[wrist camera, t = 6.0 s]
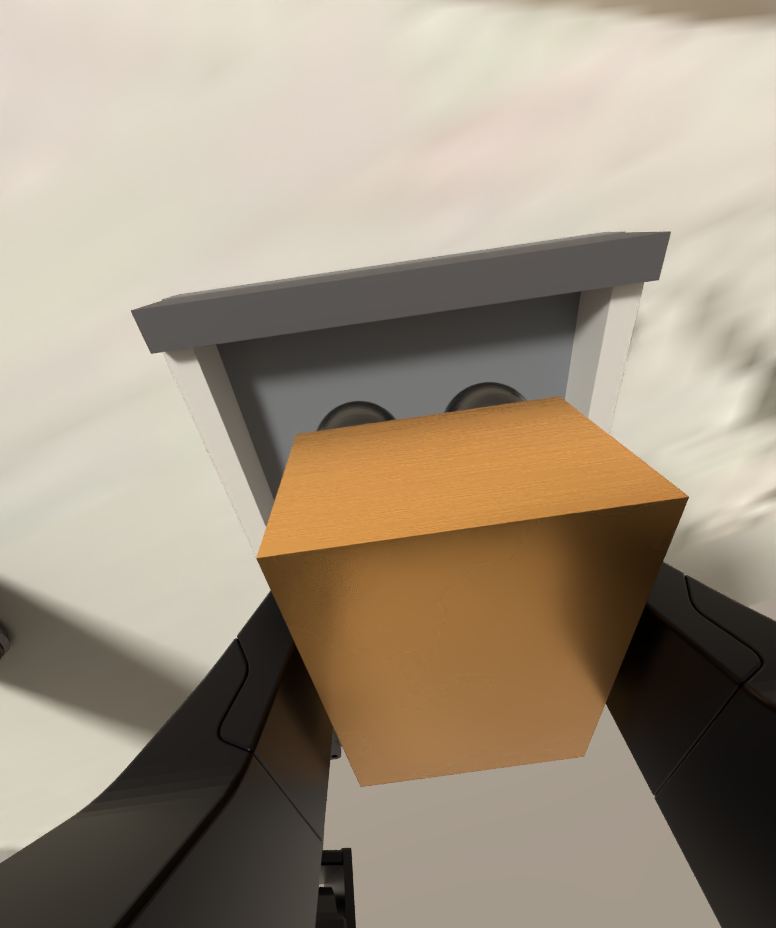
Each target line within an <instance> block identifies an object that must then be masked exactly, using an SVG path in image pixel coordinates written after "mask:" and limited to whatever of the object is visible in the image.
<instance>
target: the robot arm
mask: <svg viewBox="0 0 776 928" xmlns="http://www.w3.org/2000/svg"><path fill="white" fill-rule="evenodd" d="M237 638H238V639H237ZM237 638H235V639H234V640H233V642H232V643H231V644H230V646H229V647H228V648H227V650H226V651H225V652H224V654H223V655H222V656H221V658H220V659H219V660H218V661H217V663H216V664H215V665H214V666H213V668H212V669H211V670H210V672H209V673H208V674H207V675H206V677H205V678H204V679H203V680H202V681H201V683H200V684H199V685H198V686H197V687H196V689H195V690H194V691H193V692H192V693H191V694H190V696H189V697H188V698H187V699H186V700H185V702H184V703H183V704H182V705H181V706H180V707H179V708H178V710H177V711H176V712H175V713H174V714H173V715H172V716H171V718H170V719H169V720H168V721H167V722H166V723H165V724H164V726H163V727H162V728H161V729H160V730H159V731H158V732H157V734H156V735H155V736H154V737H153V738H152V739H151V740H150V742H149V743H148V744H147V745H146V746H145V747H144V748H143V749H142V751H141V752H140V753H139V754H138V755H137V756H136V757H135V759H134V760H133V761H132V762H131V763H130V764H129V765H128V767H127V768H126V769H125V770H124V771H123V772H122V773H121V774H120V775H119V776H118V777H117V779H116V780H115V781H114V782H113V783H112V784H111V785H110V786H109V787H108V788H107V789H105V790H104V791H103V792H102V793H101V794H100V795H99V796H98V797H97V798H96V799H94V800H93V801H92V802H91V803H90V804H89V805H87V806H86V807H85V808H83V809H82V810H81V811H79V812H78V813H77V814H75V815H74V816H72V817H71V818H70V819H68V820H67V821H65V822H63V823H62V824H60V825H59V826H57V827H56V828H54V829H53V830H51V831H50V832H48V833H46V834H45V835H43V836H42V837H40V838H39V839H37V840H36V841H34V842H33V843H31V844H29V845H28V846H26V847H25V848H23V849H22V850H20V851H19V852H17V853H16V854H14V855H12V856H11V857H9V858H8V859H6V860H5V861H3V862H2V863H0V928H356V922H355V905H354V887H353V870H352V854H351V853H352V852H351V848H342V849H341V850H323V839H324V837H323V836H324V823H325V811H326V801H327V790H328V779H329V767H330V760H332V759H338V758H340V757H341V748H340V746H339V743H338V741H337V739H336V737H335V735H334V733H333V725H332V723H331V721H330V718H329V716H328V714H327V712H326V710H325V707H324V705H323V703H322V701H321V699H320V697H319V694H318V692H317V690H316V688H315V686H314V683H313V681H312V679H311V677H310V675H309V672H308V670H307V668H306V666H305V664H304V662H303V659H302V657H301V655H300V653H299V651H298V648H297V646H296V644H295V642H294V640H293V637H292V635H291V633H290V631H289V629H288V626H287V624H286V622H285V620H284V618H283V616H282V613H281V611H280V609H279V607H278V605H277V602H276V600H275V598H274V596H273V594H272V591H270V592H269V593H268V595H267V596H266V597H265V599H264V600H263V602H262V603H261V604H260V606H259V607H258V608H257V610H256V611H255V612H254V614H253V615H252V616H251V618H250V619H249V620H248V622H247V623H246V624H245V626H244V627H243V628H242V630H241V631H240V632H239V634H238V635H237ZM606 705H607V707H608V709H609V711H610V713H611V715H612V716H613V718H614V720H615V722H616V724H617V726H618V728H619V730H620V732H621V734H622V736H623V738H624V739H625V741H626V744H627V745H628V747H629V749H630V751H631V753H632V755H633V757H634V759H635V761H636V763H637V765H638V766H639V769H640V770H641V772H642V774H643V776H644V778H645V780H646V782H647V784H648V786H649V788H650V790H651V792H652V794H653V795H655V800H656V802H657V804H658V806H659V808H660V810H661V812H662V814H663V815H664V817H665V819H666V821H667V823H668V825H669V827H670V829H671V831H672V833H673V835H674V837H675V839H676V841H677V842H678V844H679V846H680V848H681V850H682V852H683V854H684V856H685V858H686V860H687V862H688V863H689V866H690V868H691V870H692V872H693V873H694V875H695V877H696V879H697V881H698V883H699V885H700V887H701V889H702V891H703V893H704V894H705V896H706V898H707V900H708V902H709V904H710V906H711V908H712V910H713V912H714V914H715V916H716V918H717V920H718V922H719V923H720V926H721V928H776V621H775V620H772V619H771V618H769V617H766V616H764V615H762V614H760V613H758V612H756V611H754V610H752V609H750V608H748V607H746V606H744V605H742V604H740V603H738V602H736V601H734V600H733V599H731V598H729V597H727V596H725V595H723V594H721V593H719V592H718V591H716V590H714V589H712V588H710V587H708V586H706V585H704V584H703V583H701V582H699V581H697V580H695V579H694V578H692V577H690V576H688V575H686V576H684V573H682V572H681V571H679V570H677V569H675V568H673V567H672V566H670V565H668V564H666V563H664V562H663V563H662V565H661V568H660V570H659V572H658V575H657V577H656V580H655V582H654V585H653V587H652V590H651V592H650V595H649V597H648V600H647V602H646V605H645V607H644V610H643V612H642V614H641V617H640V619H639V622H638V624H637V627H636V629H635V632H634V634H633V637H632V639H631V642H630V644H629V647H628V649H627V652H626V654H625V656H624V659H623V661H622V664H621V666H620V669H619V671H618V674H617V676H616V679H615V681H614V684H613V686H612V689H611V691H610V694H609V696H608V698H607V701H606ZM319 884H325V885H324V887H319Z"/></svg>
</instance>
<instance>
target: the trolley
mask: <svg viewBox="0 0 776 928" xmlns="http://www.w3.org/2000/svg"><path fill="white" fill-rule="evenodd" d="M688 498H689V496H687V495H686V494H685V493H684V492H682V491H681V490H680V489H678V488H677V487H676V486H675V485H673V484H672V483H671V482H669V481H668V480H667V479H666V478H664V477H663V476H662V475H660V474H659V473H658V472H657V471H655V470H654V469H653V468H651V467H650V466H649V465H648V464H646V463H645V462H644V461H642V460H641V459H640V458H639V457H637V456H636V455H635V454H633V453H632V452H631V451H630V450H628V449H627V448H626V447H624V446H623V445H622V444H621V443H619V442H618V441H617V440H615V439H614V438H613V437H612V436H610V435H609V434H608V433H606V432H605V431H604V430H603V429H601V428H600V427H599V426H597V425H596V424H595V423H594V422H592V421H591V420H590V419H588V418H587V417H586V416H585V415H583V414H582V413H581V412H579V411H578V410H577V409H576V408H574V407H573V406H572V405H570V404H569V403H568V402H567V401H565V400H564V399H563V398H561V397H560V396H557V397H550V398H543V399H536V400H530V401H527V400H526V398H525V397H524V396H523V395H522V394H521V393H520V392H518V391H517V390H515V389H514V388H512V387H510V386H508V385H505V384H502V383H497V382H482V383H477V384H474V385H471V386H469V387H467V388H465V389H463V390H462V391H460V392H459V393H458V394H457V395H456V396H455V397H453V398H452V400H451V401H450V402H449V404H448V405H447V407H446V409H445V411H444V413H440V414H433V415H426V416H419V417H412V418H405V419H398V420H396V418H395V417H394V416H393V415H392V414H391V413H390V412H389V411H388V410H386V409H385V408H383V407H381V406H380V405H377V404H375V403H372V402H367V401H352V402H347V403H344V404H341V405H339V406H337V407H335V408H334V409H333V410H331V411H330V412H329V413H328V414H327V415H326V416H325V417H324V418H323V419H322V421H321V422H320V424H319V426H318V428H317V430H316V431H315V432H308V433H301V434H296V437H295V440H294V443H293V446H292V449H291V452H290V455H289V458H288V462H287V465H286V468H285V471H284V474H283V477H282V480H281V483H280V486H279V489H278V492H277V496H276V499H275V502H274V505H273V508H272V511H271V514H270V517H269V520H268V523H267V526H266V530H265V533H264V536H263V539H262V542H261V545H260V548H259V551H258V554H257V557H256V559H257V561H258V563H259V565H260V567H261V570H262V572H263V574H264V576H265V578H266V580H267V583H268V585H269V587H270V589H271V591H272V594H273V596H274V598H275V600H276V602H277V605H278V607H279V609H280V611H281V613H282V616H283V618H284V620H285V622H286V624H287V626H288V629H289V631H290V633H291V635H292V637H293V640H294V642H295V644H296V646H297V648H298V651H299V653H300V655H301V657H302V659H303V662H304V664H305V666H306V668H307V670H308V672H309V675H310V677H311V679H312V681H313V683H314V686H315V688H316V690H317V692H318V694H319V697H320V699H321V701H322V703H323V705H324V707H325V710H326V712H327V714H328V716H329V718H330V721H331V723H332V725H333V727H334V729H335V732H336V734H337V736H338V738H339V740H340V743H341V745H342V747H343V749H344V751H345V753H346V756H347V758H348V760H349V762H350V764H351V767H352V769H353V771H354V773H355V775H356V777H357V780H358V782H359V784H360V786H361V787H363V786H371V785H378V784H385V783H393V782H401V781H407V780H415V779H423V778H430V777H437V776H445V775H452V774H460V773H466V772H474V771H482V770H489V769H496V768H504V767H511V766H519V765H525V764H533V763H541V762H547V761H555V760H563V759H570V758H577V757H584V755H585V753H586V750H587V748H588V745H589V743H590V740H591V738H592V736H593V733H594V731H595V728H596V726H597V723H598V721H599V718H600V716H601V713H602V711H603V708H604V706H605V703H606V701H607V698H608V696H609V694H610V691H611V689H612V686H613V684H614V681H615V679H616V676H617V674H618V671H619V669H620V666H621V664H622V661H623V659H624V656H625V654H626V652H627V649H628V647H629V644H630V642H631V639H632V637H633V634H634V632H635V629H636V627H637V624H638V622H639V619H640V617H641V614H642V612H643V610H644V607H645V605H646V602H647V600H648V597H649V595H650V592H651V590H652V587H653V585H654V582H655V580H656V577H657V575H658V572H659V570H660V568H661V565H662V563H663V560H664V558H665V555H666V553H667V550H668V548H669V545H670V543H671V540H672V538H673V535H674V533H675V530H676V528H677V526H678V523H679V521H680V518H681V516H682V513H683V511H684V508H685V506H686V503H687V501H688Z"/></svg>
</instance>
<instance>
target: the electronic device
mask: <svg viewBox="0 0 776 928" xmlns="http://www.w3.org/2000/svg"><path fill="white" fill-rule="evenodd" d="M8 649H9V642H8V639H7V636H6V633H5V632H4V631H3V629H2V628H1V627H0V659H1V658H2V657H3V655H4V654H5V653H6V652H7V651H8Z"/></svg>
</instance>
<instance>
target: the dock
mask: <svg viewBox="0 0 776 928" xmlns="http://www.w3.org/2000/svg"><path fill="white" fill-rule="evenodd" d="M670 233H671V232H632V233H625V232H603V233H596V234H589V235H583V236H576V237H569V238H562V239H555V240H548V241H542V242H535V243H528V244H521V245H514V246H507V247H501V248H494V249H487V250H480V251H473V252H467V253H460V254H453V255H446V256H439V257H432V258H426V259H419V260H412V261H405V262H398V263H391V264H385V265H378V266H371V267H364V268H357V269H351V270H344V271H337V272H330V273H323V274H316V275H310V276H303V277H296V278H289V279H282V280H275V281H269V282H262V283H255V284H248V285H241V286H235V287H228V288H221V289H214V290H207V291H200V292H194V293H187V294H180V295H175V296H172V297H169V298H166V299H162V301H160V302H157V303H153V304H150V305H147V306H144V307H141V308H138V309H134V310H131V312H132V315H133V317H134V319H135V321H136V323H137V325H138V327H139V329H140V331H141V334H142V336H143V338H144V340H145V342H146V344H147V346H148V348H149V350H150V353H151V354H153V353H159V352H162V353H163V355H164V357H165V359H166V362H167V364H168V366H169V368H170V370H171V373H172V375H173V377H174V379H175V381H176V384H177V386H178V388H179V390H180V392H181V394H182V397H183V399H184V401H185V403H186V405H187V408H188V410H189V412H190V414H191V416H192V419H193V421H194V423H195V425H196V427H197V430H198V432H199V434H200V436H201V438H202V440H203V443H204V445H205V447H206V449H207V451H208V454H209V456H210V458H211V460H212V462H213V465H214V467H215V469H216V471H217V473H218V476H219V478H220V480H221V482H222V484H223V486H224V489H225V491H226V493H227V495H228V497H229V500H230V502H231V504H232V506H233V508H234V511H235V513H236V515H237V517H238V519H239V521H240V524H241V526H242V528H243V530H244V532H245V535H246V537H247V539H248V541H249V543H250V546H251V548H252V550H253V552H254V554H255V557H257V554H258V551H259V548H260V545H261V542H262V539H263V536H264V533H265V530H266V526H267V523H268V520H269V517H270V514H271V511H272V508H273V505H274V502H275V499H276V496H277V492H278V489H279V486H280V483H281V480H282V477H283V474H284V471H285V468H286V465H287V462H288V458H289V455H290V452H291V449H292V446H293V443H294V440H295V437H296V434H301V433H308V432H315V431H316V430H317V428H318V426H319V424H320V422H321V421H322V419H323V418H324V417H325V416H326V415H327V414H328V413H329V412H330V411H331V410H333V409H334V408H335V407H337V406H339V405H341V404H344V403H347V402H352V401H367V402H372V403H375V404H377V405H380V406H381V407H383V408H385V409H386V410H388V411H389V412H390V413H391V414H392V415H393V416H394V417H395V418H396V420H398V419H405V418H412V417H419V416H426V415H433V414H440V413H444V411H445V409H446V407H447V405H448V404H449V402H450V401H451V400H452V398H453V397H455V396H456V395H457V394H458V393H459V392H460V391H462V390H463V389H465V388H467V387H469V386H471V385H474V384H477V383H482V382H497V383H502V384H505V385H508V386H510V387H512V388H514V389H515V390H517V391H518V392H520V393H521V394H522V395H523V396H524V397H525V398H526V400H527V401H530V400H536V399H543V398H550V397H557V396H560V397H561V398H563V399H564V400H565V401H567V402H568V403H569V404H570V405H572V406H573V407H574V408H576V409H577V410H578V411H579V412H581V413H582V414H583V415H585V416H586V417H587V418H588V419H590V420H591V421H592V422H594V423H595V424H596V425H597V426H599V427H600V428H601V429H603V430H604V431H605V432H606V433H608V434H609V432H610V427H611V423H612V419H613V414H614V410H615V406H616V401H617V397H618V393H619V388H620V384H621V380H622V376H623V371H624V367H625V363H626V358H627V354H628V350H629V345H630V341H631V337H632V332H633V328H634V324H635V319H636V315H637V311H638V306H639V302H640V298H641V294H642V289H643V285H644V282H648V281H655V280H659V277H660V273H661V269H662V265H663V261H664V257H665V253H666V249H667V245H668V241H669V237H670Z"/></svg>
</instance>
